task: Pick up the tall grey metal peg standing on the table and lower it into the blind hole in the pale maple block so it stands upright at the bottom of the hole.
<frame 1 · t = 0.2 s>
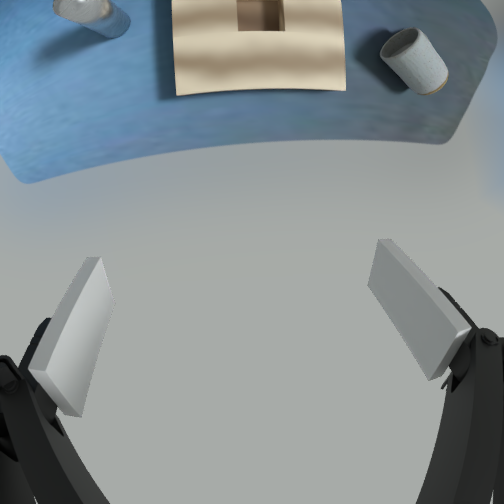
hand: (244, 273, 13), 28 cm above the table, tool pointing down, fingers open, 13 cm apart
ceramic mug: (403, 55, 32), on the table
metal peg: (116, 25, 26), on the table
maple block: (256, 19, 28), on the table
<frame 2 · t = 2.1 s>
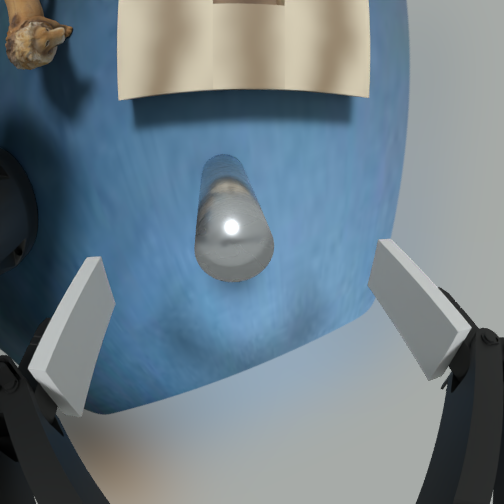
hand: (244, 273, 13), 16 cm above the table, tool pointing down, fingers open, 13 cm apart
lion figurine: (56, 19, 16), on the table
metal peg: (223, 175, 27), on the table
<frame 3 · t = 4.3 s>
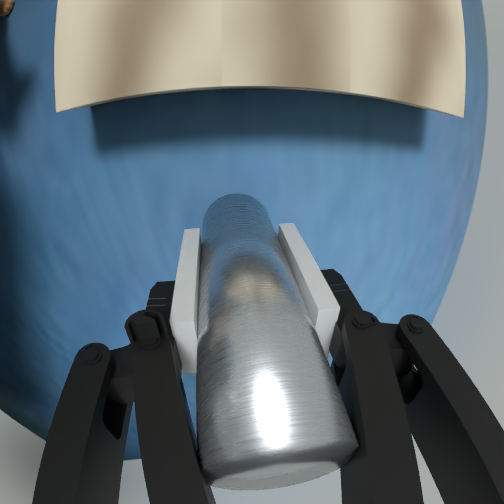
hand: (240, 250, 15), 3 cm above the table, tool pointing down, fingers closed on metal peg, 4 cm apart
metal peg: (236, 225, 18), on the table, touching gripper
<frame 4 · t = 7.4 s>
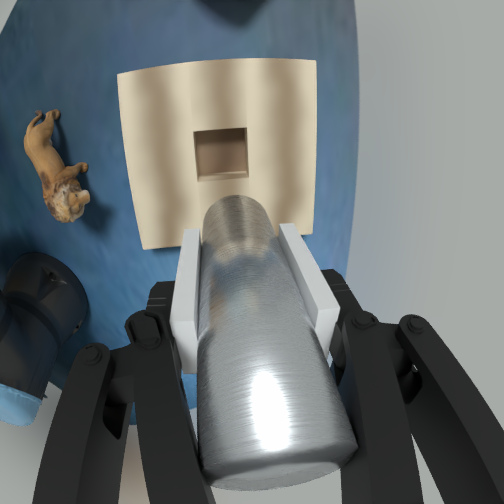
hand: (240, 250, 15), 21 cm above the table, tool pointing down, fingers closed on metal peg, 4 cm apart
lion figurine: (71, 153, 30), on the table
metal peg: (236, 226, 18), point 18 cm above the table, touching gripper
maple block: (220, 148, 32), on the table
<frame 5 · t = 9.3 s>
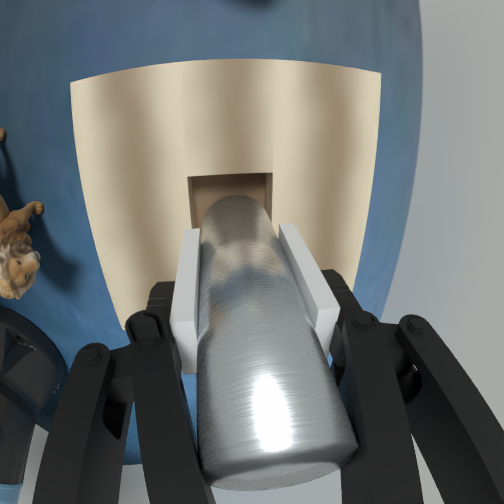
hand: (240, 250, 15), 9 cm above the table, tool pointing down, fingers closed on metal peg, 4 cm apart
lion figurine: (22, 187, 20), on the table
metal peg: (236, 226, 18), point 6 cm above the table, touching gripper
maple block: (228, 194, 23), on the table
when the fingers open (6 cm above the table, at t = 10.9 s): metal peg stays where it is, resting on maple block.
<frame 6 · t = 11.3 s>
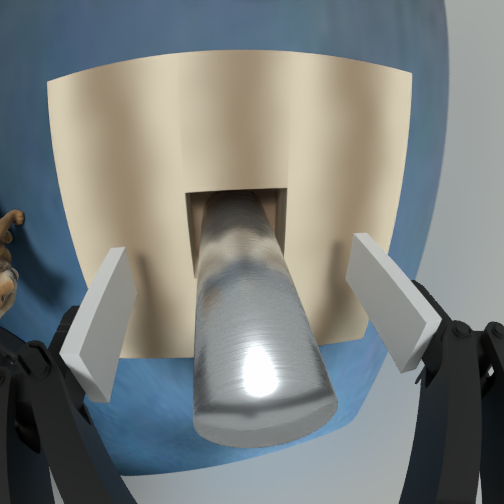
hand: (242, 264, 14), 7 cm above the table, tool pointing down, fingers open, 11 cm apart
lion figurine: (1, 195, 17), on the table
metal peg: (233, 215, 19), point 1 cm above the table, touching maple block
maple block: (233, 209, 20), on the table
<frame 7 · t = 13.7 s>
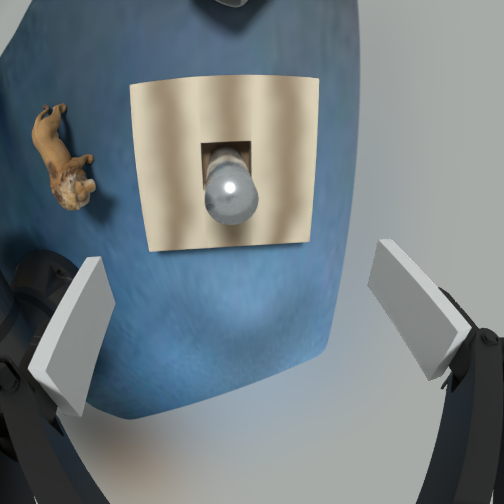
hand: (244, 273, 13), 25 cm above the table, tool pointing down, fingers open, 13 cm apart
lion figurine: (77, 146, 31), on the table
metal peg: (225, 160, 34), point 1 cm above the table, touching maple block
maple block: (225, 158, 34), on the table
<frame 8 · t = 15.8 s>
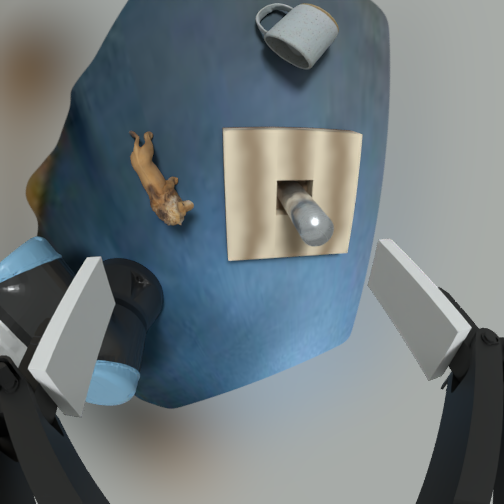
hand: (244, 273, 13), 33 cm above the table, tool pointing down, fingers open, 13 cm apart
ceramic mug: (287, 35, 34), on the table
lion figurine: (162, 168, 42), on the table
metal peg: (289, 191, 45), point 1 cm above the table, touching maple block
maple block: (288, 189, 46), on the table
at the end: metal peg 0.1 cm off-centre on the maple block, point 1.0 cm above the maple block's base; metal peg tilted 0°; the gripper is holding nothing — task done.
